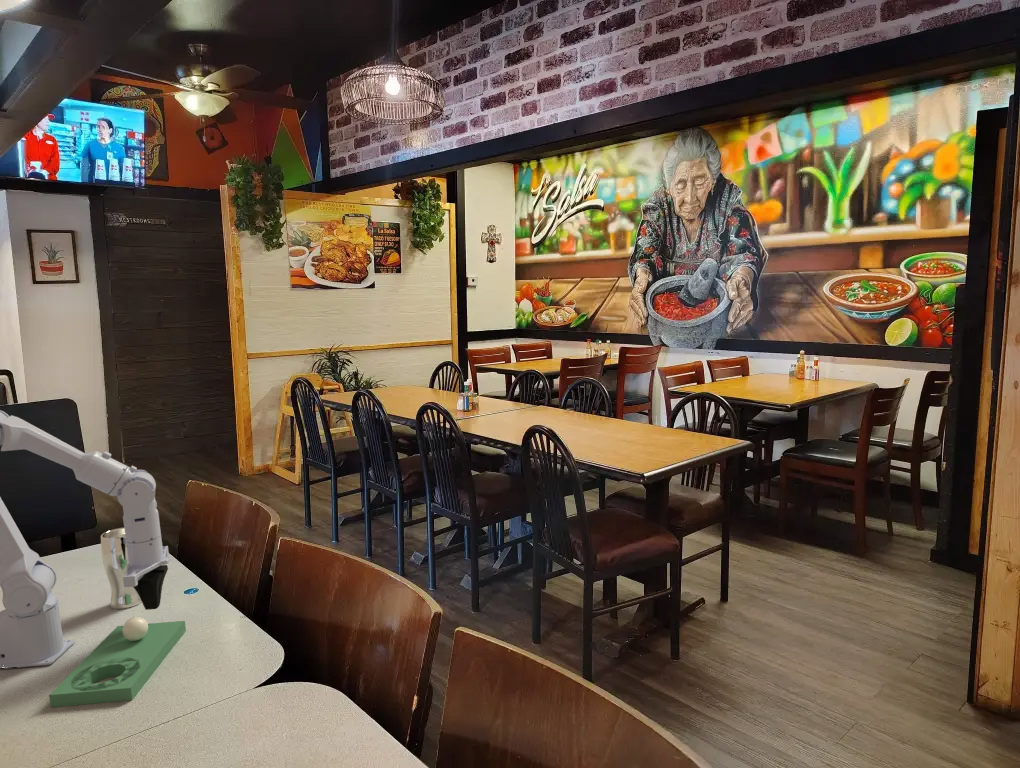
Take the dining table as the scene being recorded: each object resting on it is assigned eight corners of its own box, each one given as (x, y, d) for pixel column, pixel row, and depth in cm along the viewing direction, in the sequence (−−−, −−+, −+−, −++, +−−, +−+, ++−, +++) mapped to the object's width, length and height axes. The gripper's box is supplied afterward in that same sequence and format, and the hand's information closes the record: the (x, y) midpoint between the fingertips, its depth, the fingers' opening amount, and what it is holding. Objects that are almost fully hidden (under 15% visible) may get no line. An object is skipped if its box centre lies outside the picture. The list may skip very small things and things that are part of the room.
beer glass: (130, 611, 137) (121, 539, 135) (100, 609, 138) (90, 538, 136) (154, 595, 144) (146, 527, 142) (125, 594, 145) (117, 526, 143)
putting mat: (50, 707, 105) (48, 695, 105) (118, 636, 127) (117, 626, 126) (132, 699, 106) (130, 687, 106) (185, 630, 128) (184, 620, 127)
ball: (119, 646, 119) (116, 624, 118) (130, 634, 123) (127, 613, 122) (143, 644, 119) (140, 622, 118) (153, 633, 123) (150, 611, 122)
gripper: (149, 550, 119) (158, 624, 121) (181, 522, 133) (189, 589, 135) (106, 553, 118) (116, 628, 120) (143, 525, 132) (152, 592, 134)
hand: (152, 607), depth 127 cm, fingers closed
